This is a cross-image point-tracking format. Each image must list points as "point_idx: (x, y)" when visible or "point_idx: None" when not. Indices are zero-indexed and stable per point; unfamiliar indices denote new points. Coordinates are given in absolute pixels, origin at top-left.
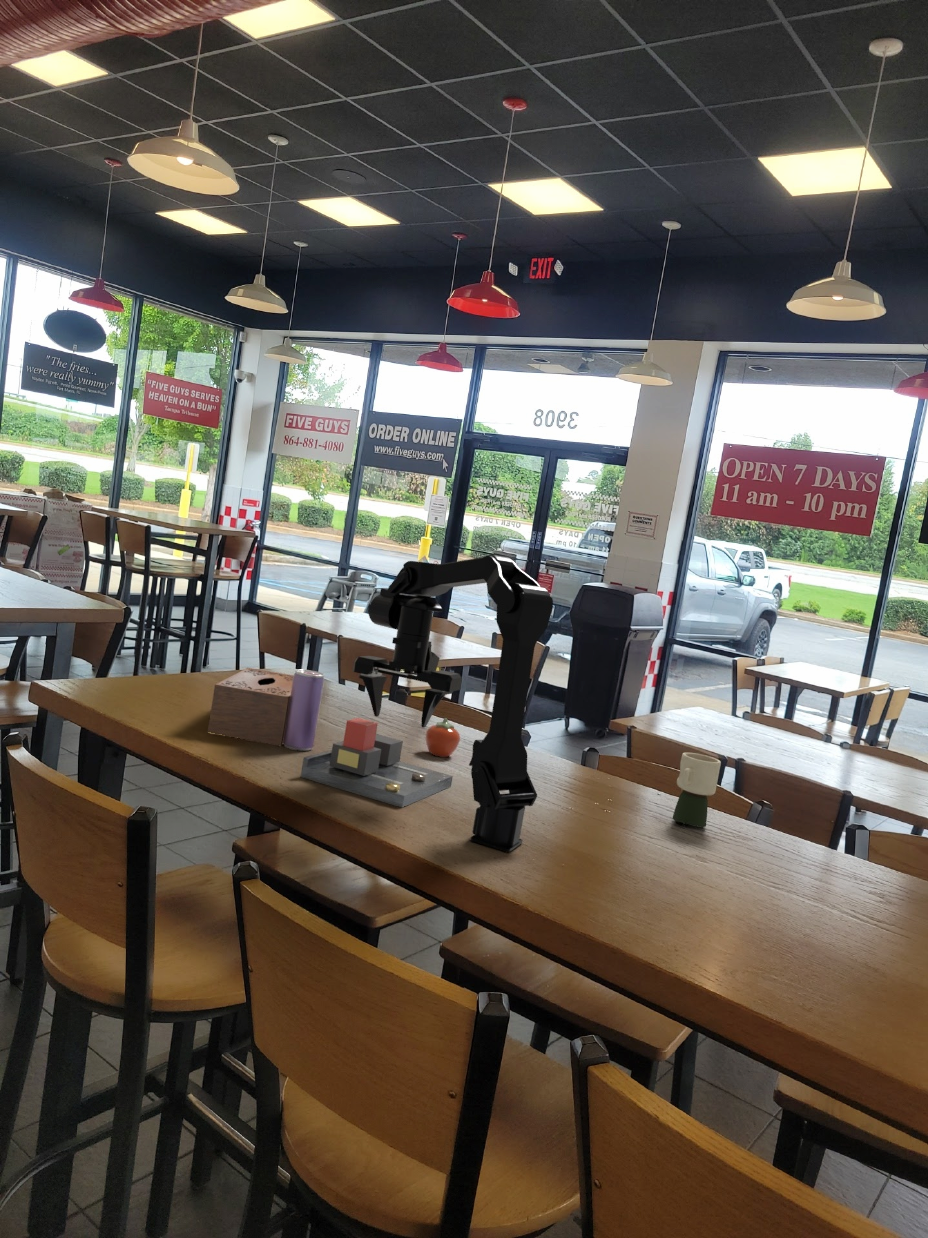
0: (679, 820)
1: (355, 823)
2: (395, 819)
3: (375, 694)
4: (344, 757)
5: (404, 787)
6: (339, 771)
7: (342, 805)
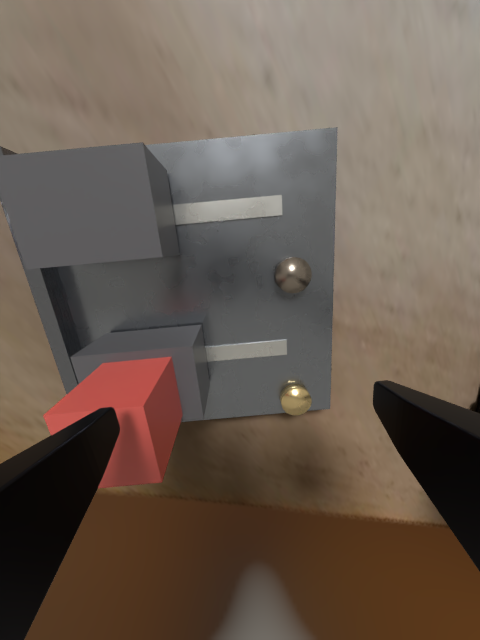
0: None
1: (309, 501)
2: (341, 447)
3: (25, 613)
4: None
5: (302, 362)
6: None
7: (251, 463)
